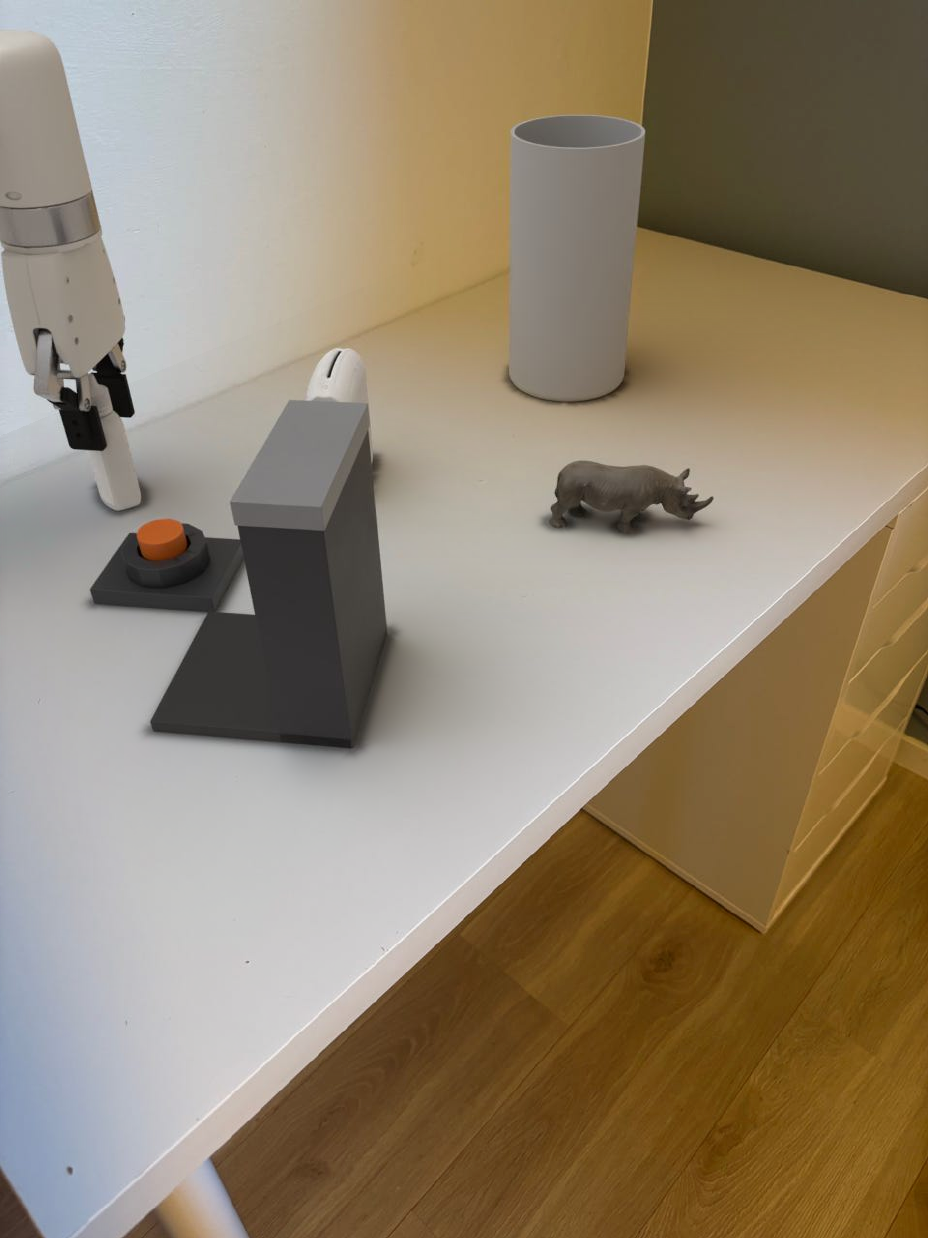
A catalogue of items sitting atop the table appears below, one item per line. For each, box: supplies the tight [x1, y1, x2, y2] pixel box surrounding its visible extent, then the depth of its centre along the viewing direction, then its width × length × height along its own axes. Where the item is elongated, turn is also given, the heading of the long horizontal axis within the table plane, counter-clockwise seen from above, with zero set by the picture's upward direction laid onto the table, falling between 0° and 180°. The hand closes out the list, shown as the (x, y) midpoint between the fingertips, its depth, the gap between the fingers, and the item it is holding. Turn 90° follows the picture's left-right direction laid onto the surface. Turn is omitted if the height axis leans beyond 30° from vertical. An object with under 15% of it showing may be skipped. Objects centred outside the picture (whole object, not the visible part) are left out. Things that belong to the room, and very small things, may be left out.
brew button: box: [136, 518, 187, 561], centre depth 79 cm, size 4×4×2 cm
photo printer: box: [305, 347, 374, 464], centre depth 89 cm, size 10×4×12 cm, turn 175°
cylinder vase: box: [508, 114, 646, 403], centre depth 101 cm, size 12×12×25 cm
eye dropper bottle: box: [86, 373, 142, 512], centre depth 88 cm, size 4×6×12 cm
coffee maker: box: [149, 399, 388, 749], centre depth 66 cm, size 14×12×19 cm
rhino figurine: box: [548, 459, 715, 535], centre depth 85 cm, size 4×14×6 cm, turn 82°
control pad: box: [89, 522, 244, 613], centre depth 81 cm, size 10×8×4 cm
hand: (103, 429), depth 87 cm, fingers closed on eye dropper bottle, 5 cm apart
